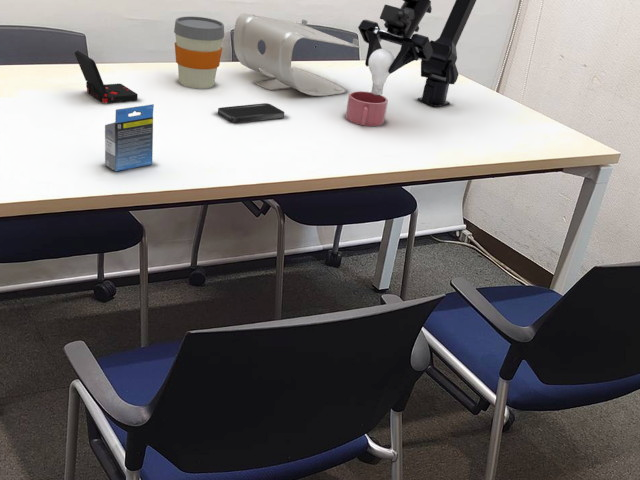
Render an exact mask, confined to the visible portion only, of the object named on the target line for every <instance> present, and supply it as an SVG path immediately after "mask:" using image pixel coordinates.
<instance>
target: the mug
mask: <svg viewBox="0 0 640 480" xmlns="http://www.w3.org/2000/svg"><path fill="white" fill-rule="evenodd" d="M371 92H372V91H371ZM371 92H370V91H363V90H362V91H360V90H358V91H357V90H356V91H352V92H350V93H349V94H348V97H347V105H346V110H345V119H346V120H347V121H348V122H351V123H353V124H356V125H360V126H365V127H366V126H368V127H378V126H382V125H383V124H384V123H385V120H386V115H387V109H388V103H389V99H388V98H387V97H386V96H384V95H383V94H381V95H379V96H375V95H373V94H372V93H371Z"/></svg>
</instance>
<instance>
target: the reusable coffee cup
mask: <svg viewBox="0 0 640 480" xmlns="http://www.w3.org/2000/svg"><path fill="white" fill-rule="evenodd" d="M173 28H174V29H173V30H174V31H173V32H174V34H175V42H174V53H175V54H174V56H175V63H176V64H177V69H178V71H177V73H178V83H179V84H180V85H181V86H184V87H188V88H191V89H200V90H201V89H202V90H203V89H210V88H213V87H214V86H215V81H216V76H217V71H218V68H219V67H220V64H221V58H222V53H223V47H222V44H223V40H224V38H225V24H224V23H223V22H222V21H219V20H217V19H214V18H209V17H203V16H180V17H177V18H176V19H175V22H174V27H173Z"/></svg>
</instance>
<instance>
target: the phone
mask: <svg viewBox="0 0 640 480" xmlns="http://www.w3.org/2000/svg"><path fill="white" fill-rule="evenodd" d="M217 115H218V116H221V117H223V118H224V119H225V120H227V121H229V122H231V123H233V124H238V123H239V124H240V123H249V122H257V121H258V122H259V121H266V120H276V119H283V118H285V111H284V110H282V109H280V108H278V107H277V106H275V105H273V104H272V103H271V104H270V103H268V102H267V103H265V102H264V103H255V104H254V103H253V104H245V105H244V104H243V105H234V106H223V107H218V108H217Z"/></svg>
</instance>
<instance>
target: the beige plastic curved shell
mask: <svg viewBox="0 0 640 480" xmlns="http://www.w3.org/2000/svg"><path fill="white" fill-rule="evenodd" d="M301 39H305V40H306V39H307V40H312V41H318V42H323V43H329V44H335V45H341V46H346V47H351V48H358V49H360V46H359V43H360V40H359V39H357V38H353V39H352V43H351V42H349V41H346V40H343V39H341V38H338V37H335V36H334V35H331V34H328V33H326V32H323V31H320V30H318V29H315V28H312V27H311V26H308V20H307V19H302V20H301V23H300V22H297V21H296V22H295V21H291V20H284V19H280V18H279V19H278V18H272V17H269V16H267V17H266V16H262V15H256V14H251V13H242V14H240V15H239V16H238V17H237V18H236V20H235V24H234V28H233V49H234V53H235V57H236V58H237V60H238V62H240V64H241V65H242V66H244V67H246V68H248V69H249V70H252V71H254V72H256V73H258V74H260V75H263V76H265V77H269V78H271V79H263V80H262V79H261V80H256V81H255V84H256V85H257V86H259V87H261V88H263V89H266V90H269V91H277V90H286V89H294V90H296V91H297V92H301V93H303V94H304V95H307V96H313V97H327V96H333V95H340V94H344V93H346V89H345V88H344V87H342V86H340V85H338V84H336V83H335V82H332V81H330V80H328V79H325V78H323V77H321V76H319V75H317V74H313V73H311V72H308V71H305V70H302V69H299V68H296V67H292V59H293V51H294V47H295V45H296V43H297V42H298V41H299V40H301ZM260 41H263V43H264V45H265V51H264V53H261V52H260V50H259V47H258V46H259V42H260Z"/></svg>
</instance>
